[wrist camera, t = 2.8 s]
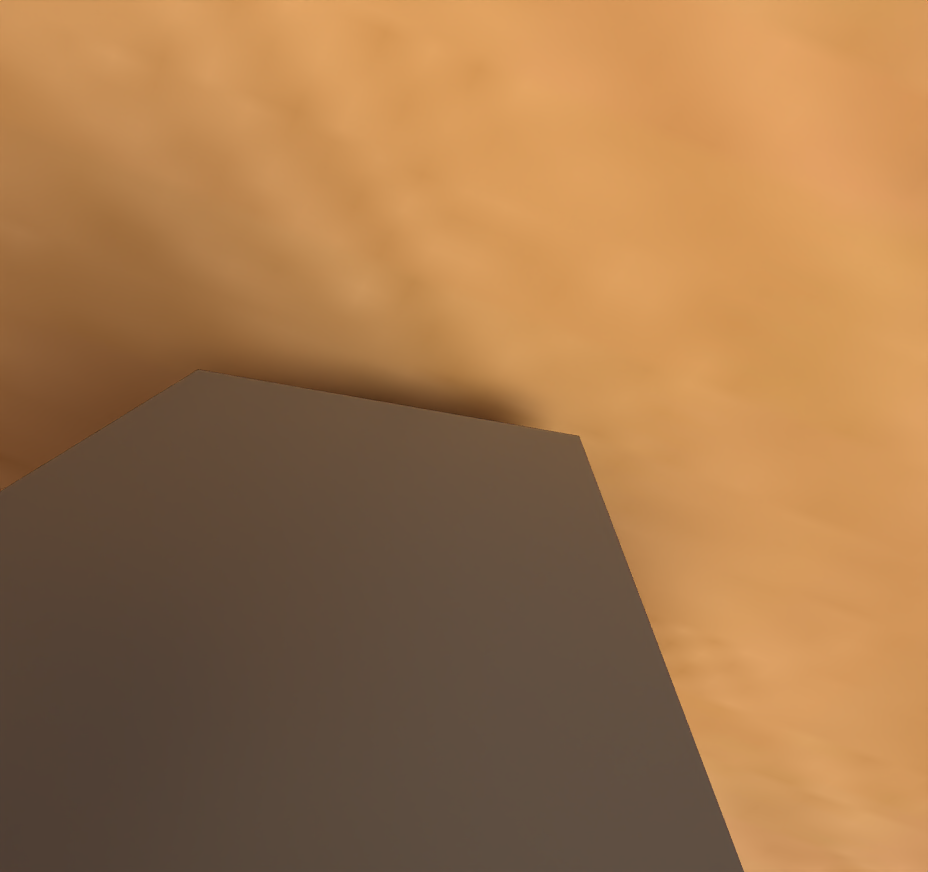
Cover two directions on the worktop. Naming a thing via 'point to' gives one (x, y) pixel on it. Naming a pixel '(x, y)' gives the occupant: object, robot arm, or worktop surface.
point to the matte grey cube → (332, 651)
